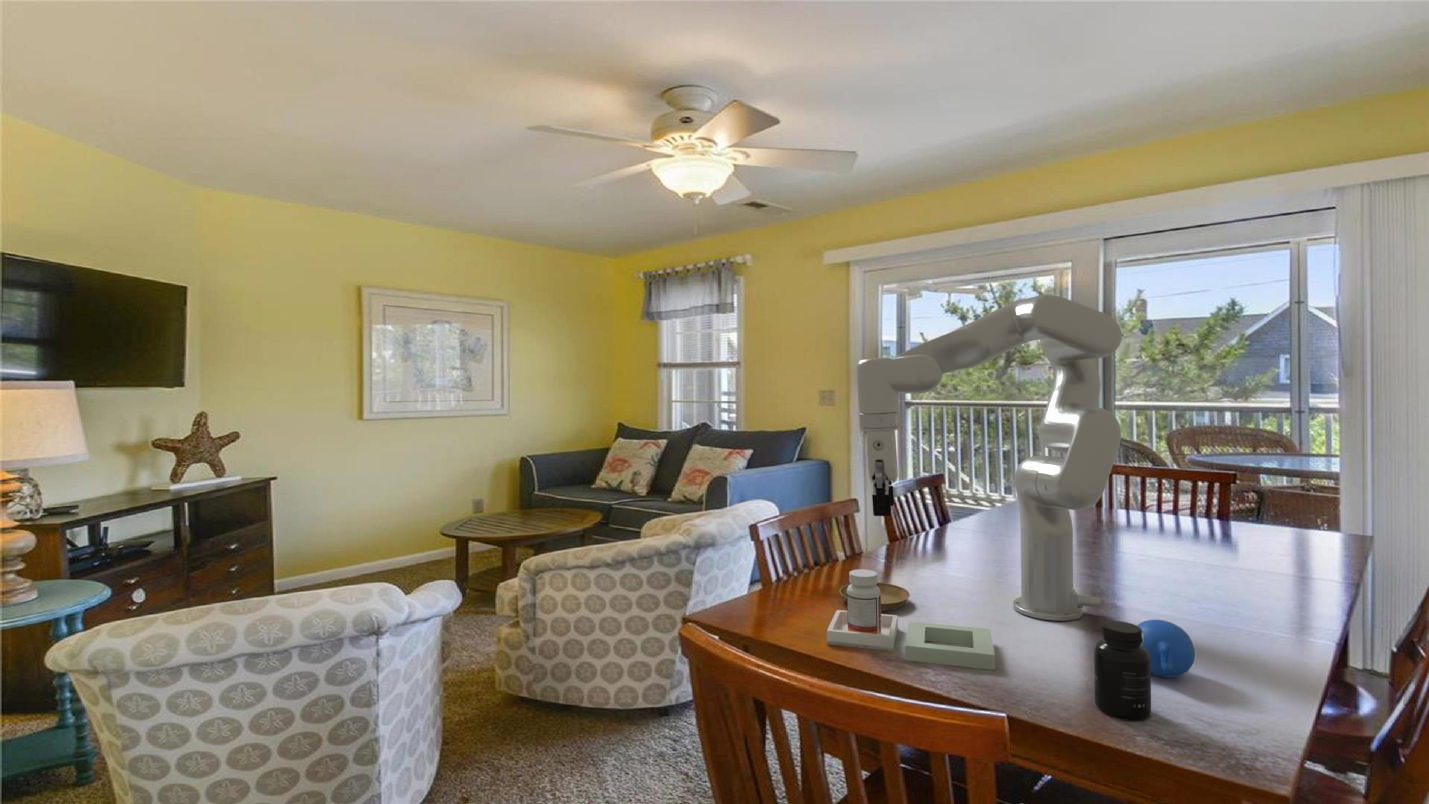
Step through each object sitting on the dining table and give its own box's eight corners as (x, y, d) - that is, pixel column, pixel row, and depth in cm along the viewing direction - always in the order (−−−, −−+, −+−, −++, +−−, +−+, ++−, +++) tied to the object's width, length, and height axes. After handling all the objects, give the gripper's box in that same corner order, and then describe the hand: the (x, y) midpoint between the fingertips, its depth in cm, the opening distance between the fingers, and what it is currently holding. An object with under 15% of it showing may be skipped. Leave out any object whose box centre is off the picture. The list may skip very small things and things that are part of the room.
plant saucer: (920, 614, 134) (920, 601, 134) (850, 617, 133) (850, 604, 133) (896, 592, 149) (895, 580, 149) (832, 594, 148) (832, 583, 148)
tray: (897, 628, 126) (897, 615, 125) (893, 651, 115) (893, 637, 115) (837, 622, 129) (836, 609, 129) (827, 644, 118) (826, 630, 118)
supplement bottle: (1083, 700, 96) (1082, 618, 95) (1127, 697, 96) (1127, 616, 96) (1116, 724, 89) (1115, 636, 88) (1163, 721, 89) (1162, 633, 89)
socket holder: (990, 642, 118) (989, 629, 117) (994, 670, 106) (994, 655, 106) (909, 634, 122) (908, 621, 122) (905, 660, 111) (905, 645, 111)
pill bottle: (862, 625, 126) (860, 566, 126) (888, 633, 121) (887, 573, 121) (840, 632, 122) (839, 572, 122) (867, 642, 117) (865, 579, 117)
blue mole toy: (1100, 653, 112) (1099, 604, 112) (1183, 663, 107) (1182, 612, 107) (1112, 682, 101) (1111, 628, 101) (1205, 695, 96) (1205, 638, 96)
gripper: (897, 424, 117) (902, 520, 117) (901, 418, 133) (905, 502, 133) (854, 426, 119) (859, 519, 119) (863, 420, 135) (868, 502, 136)
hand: (883, 510), depth 126 cm, fingers open, 9 cm apart
